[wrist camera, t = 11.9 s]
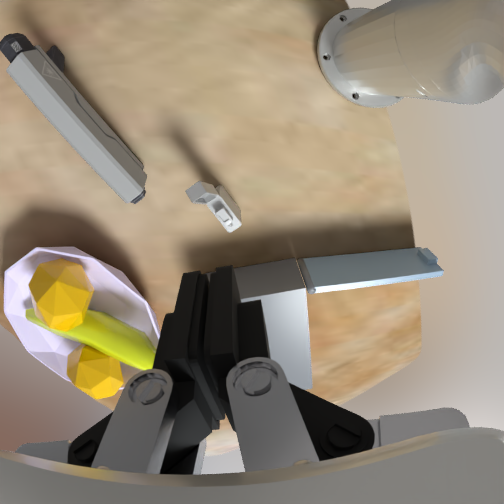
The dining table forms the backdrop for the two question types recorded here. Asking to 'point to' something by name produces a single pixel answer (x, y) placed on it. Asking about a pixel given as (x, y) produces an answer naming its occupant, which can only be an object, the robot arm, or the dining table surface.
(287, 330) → the grey block
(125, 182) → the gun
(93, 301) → the fruit bowl
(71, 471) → the robot arm
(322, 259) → the side door
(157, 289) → the dining table surface
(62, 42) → the dining table surface
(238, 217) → the pale grey angled bracket
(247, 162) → the dining table surface
